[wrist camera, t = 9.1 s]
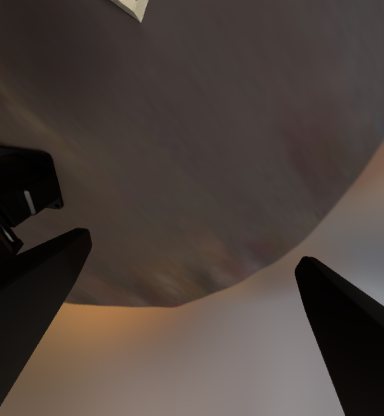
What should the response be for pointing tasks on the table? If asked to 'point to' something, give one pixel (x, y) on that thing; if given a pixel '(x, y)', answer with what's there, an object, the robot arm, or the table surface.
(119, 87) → the table surface
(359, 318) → the robot arm
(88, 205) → the table surface
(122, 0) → the socket
